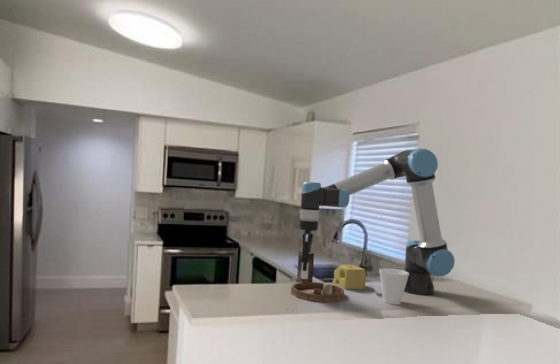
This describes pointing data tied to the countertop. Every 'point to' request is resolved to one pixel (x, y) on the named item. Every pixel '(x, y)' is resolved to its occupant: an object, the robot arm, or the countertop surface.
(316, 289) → the walnut tray
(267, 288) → the countertop surface
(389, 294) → the cup
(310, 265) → the box
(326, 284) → the bead
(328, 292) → the bead
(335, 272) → the cheese
